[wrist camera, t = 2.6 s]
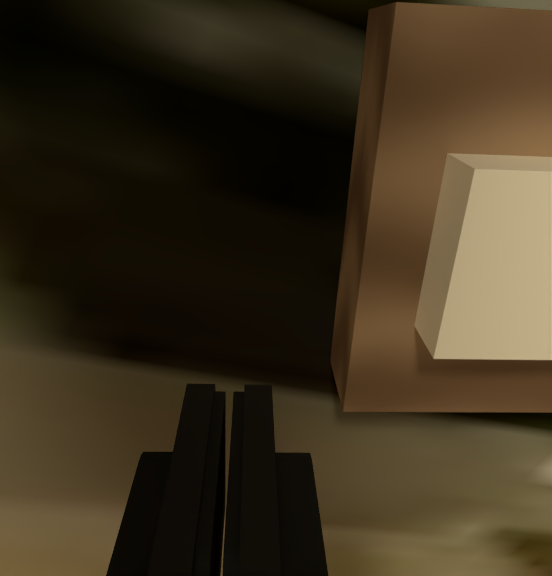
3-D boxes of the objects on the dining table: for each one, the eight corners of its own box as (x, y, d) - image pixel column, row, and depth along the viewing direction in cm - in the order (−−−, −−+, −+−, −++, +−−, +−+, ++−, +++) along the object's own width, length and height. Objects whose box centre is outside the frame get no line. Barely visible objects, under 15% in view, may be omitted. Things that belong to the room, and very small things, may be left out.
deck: (368, 9, 19) (396, 2, 15) (763, 30, 20) (876, 28, 16) (330, 360, 26) (343, 411, 22) (624, 363, 27) (681, 412, 23)
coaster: (447, 153, 18) (475, 169, 15) (637, 159, 18) (690, 176, 16) (414, 325, 21) (433, 358, 19) (577, 328, 21) (614, 360, 19)
